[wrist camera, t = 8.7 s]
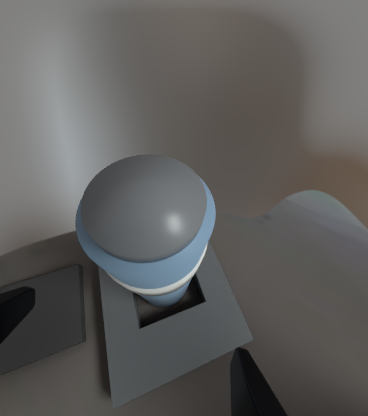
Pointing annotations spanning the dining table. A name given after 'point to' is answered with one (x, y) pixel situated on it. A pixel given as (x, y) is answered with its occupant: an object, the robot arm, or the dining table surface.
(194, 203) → the cartridge
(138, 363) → the socket plate
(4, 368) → the mat
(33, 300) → the robot arm
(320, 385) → the dining table surface
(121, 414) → the dining table surface
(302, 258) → the dining table surface
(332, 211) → the dining table surface
